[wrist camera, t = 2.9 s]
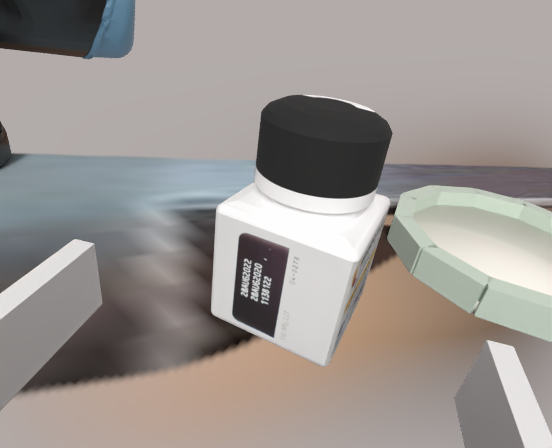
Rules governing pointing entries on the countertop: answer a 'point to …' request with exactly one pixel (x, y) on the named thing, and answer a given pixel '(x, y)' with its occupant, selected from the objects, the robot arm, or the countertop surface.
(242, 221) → the container
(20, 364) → the robot arm
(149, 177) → the countertop surface
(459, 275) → the round tray
